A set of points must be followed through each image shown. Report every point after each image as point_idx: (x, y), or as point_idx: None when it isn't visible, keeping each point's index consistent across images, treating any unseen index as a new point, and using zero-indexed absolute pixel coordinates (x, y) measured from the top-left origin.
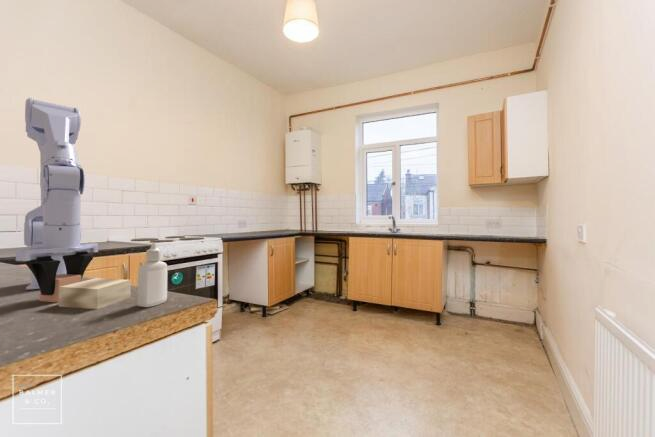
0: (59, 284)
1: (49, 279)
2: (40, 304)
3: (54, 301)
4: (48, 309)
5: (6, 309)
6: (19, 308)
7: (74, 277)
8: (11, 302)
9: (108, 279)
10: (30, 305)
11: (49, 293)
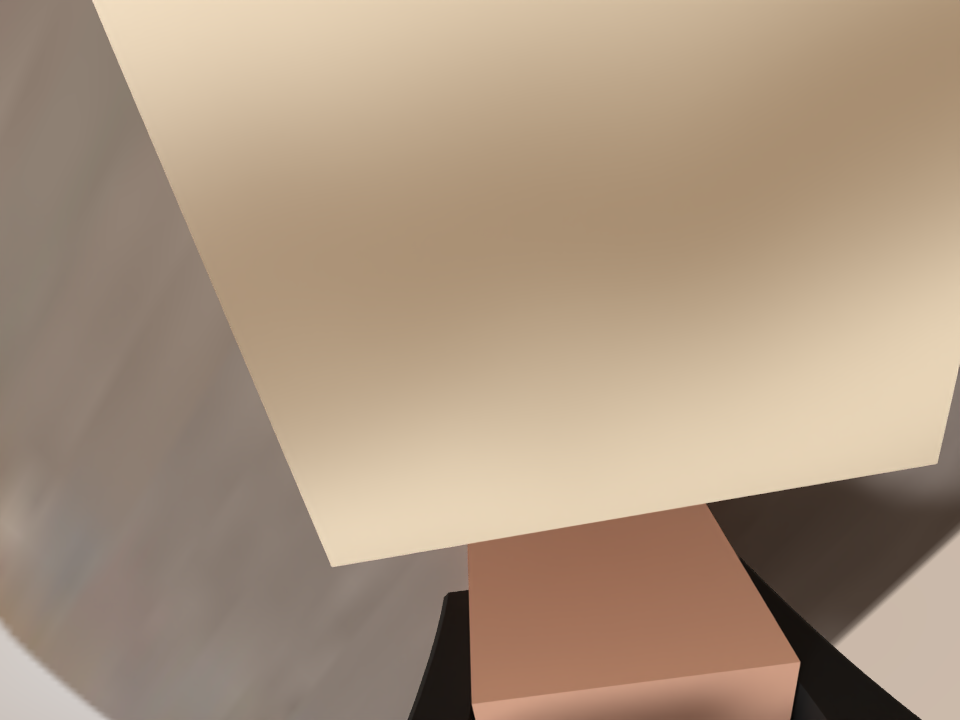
0: (755, 603)
1: (890, 699)
2: (758, 518)
3: None
4: None
5: (907, 573)
6: (877, 533)
7: (571, 677)
8: None
9: (298, 322)
10: (795, 547)
11: (752, 570)
